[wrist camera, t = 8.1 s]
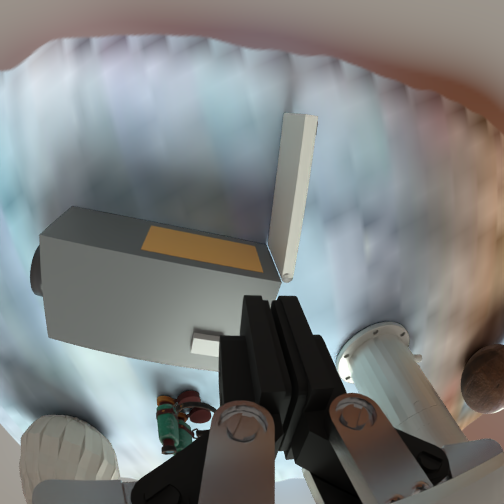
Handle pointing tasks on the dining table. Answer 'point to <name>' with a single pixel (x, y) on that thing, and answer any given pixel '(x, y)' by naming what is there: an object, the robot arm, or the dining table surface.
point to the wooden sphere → (484, 380)
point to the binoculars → (180, 420)
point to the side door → (291, 190)
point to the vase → (64, 453)
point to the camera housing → (146, 286)
